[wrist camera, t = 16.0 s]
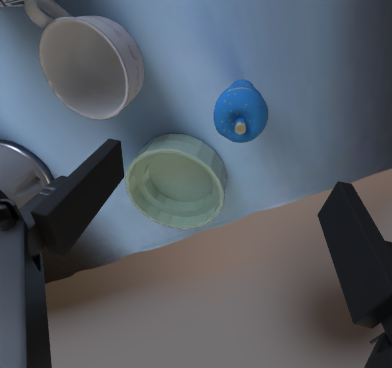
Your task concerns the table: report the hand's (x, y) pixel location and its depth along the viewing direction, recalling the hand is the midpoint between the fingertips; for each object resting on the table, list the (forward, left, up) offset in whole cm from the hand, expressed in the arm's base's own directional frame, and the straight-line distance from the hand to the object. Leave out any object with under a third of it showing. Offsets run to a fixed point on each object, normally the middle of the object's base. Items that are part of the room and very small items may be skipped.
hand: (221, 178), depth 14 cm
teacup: (-17, -7, -22) cm, 28 cm away
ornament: (0, +1, -22) cm, 22 cm away
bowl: (+2, -17, -21) cm, 28 cm away
